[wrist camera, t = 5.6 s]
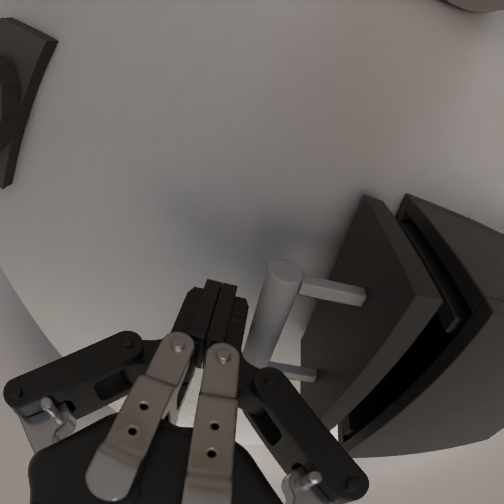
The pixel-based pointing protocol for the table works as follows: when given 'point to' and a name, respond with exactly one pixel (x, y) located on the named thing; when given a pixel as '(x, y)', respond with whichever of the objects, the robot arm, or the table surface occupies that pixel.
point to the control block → (18, 85)
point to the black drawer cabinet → (450, 349)
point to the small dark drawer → (362, 319)
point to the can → (479, 5)
